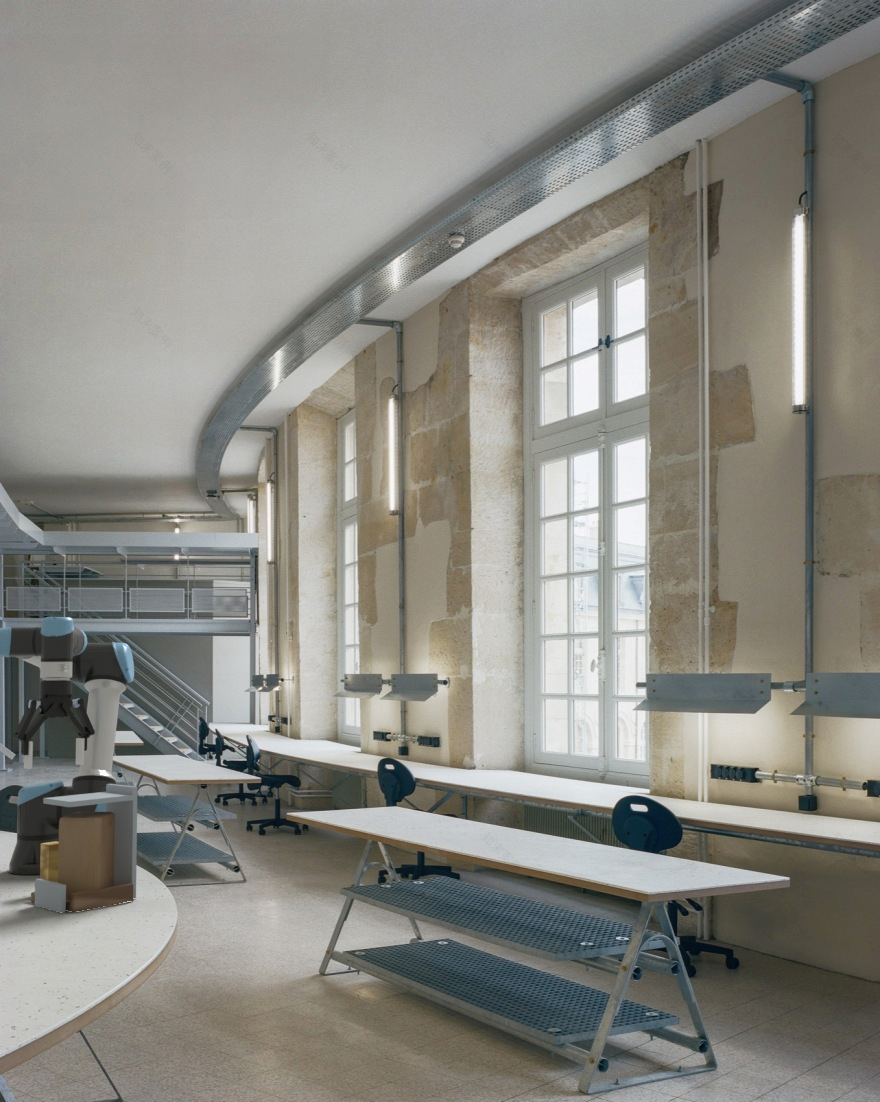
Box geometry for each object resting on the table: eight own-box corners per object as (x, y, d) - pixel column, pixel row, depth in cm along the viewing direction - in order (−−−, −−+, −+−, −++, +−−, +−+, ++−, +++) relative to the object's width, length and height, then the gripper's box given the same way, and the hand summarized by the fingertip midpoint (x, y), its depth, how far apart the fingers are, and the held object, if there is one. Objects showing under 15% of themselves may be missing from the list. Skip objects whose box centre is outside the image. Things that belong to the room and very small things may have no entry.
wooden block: (115, 897, 261) (116, 811, 263) (97, 906, 251) (99, 816, 253) (74, 897, 262) (76, 811, 264) (55, 906, 252) (57, 817, 254)
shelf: (34, 906, 254) (37, 790, 257) (108, 892, 268) (110, 783, 270) (60, 913, 246) (63, 794, 248) (135, 899, 260) (137, 786, 262)
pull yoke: (17, 897, 263) (19, 846, 265) (75, 887, 274) (76, 838, 276) (73, 913, 246) (74, 857, 247) (133, 901, 257) (133, 849, 258)
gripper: (15, 680, 261) (12, 771, 259) (109, 678, 280) (108, 763, 277) (0, 680, 266) (-3, 769, 264) (94, 678, 285) (92, 762, 282)
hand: (54, 766), depth 271 cm, fingers open, 13 cm apart
